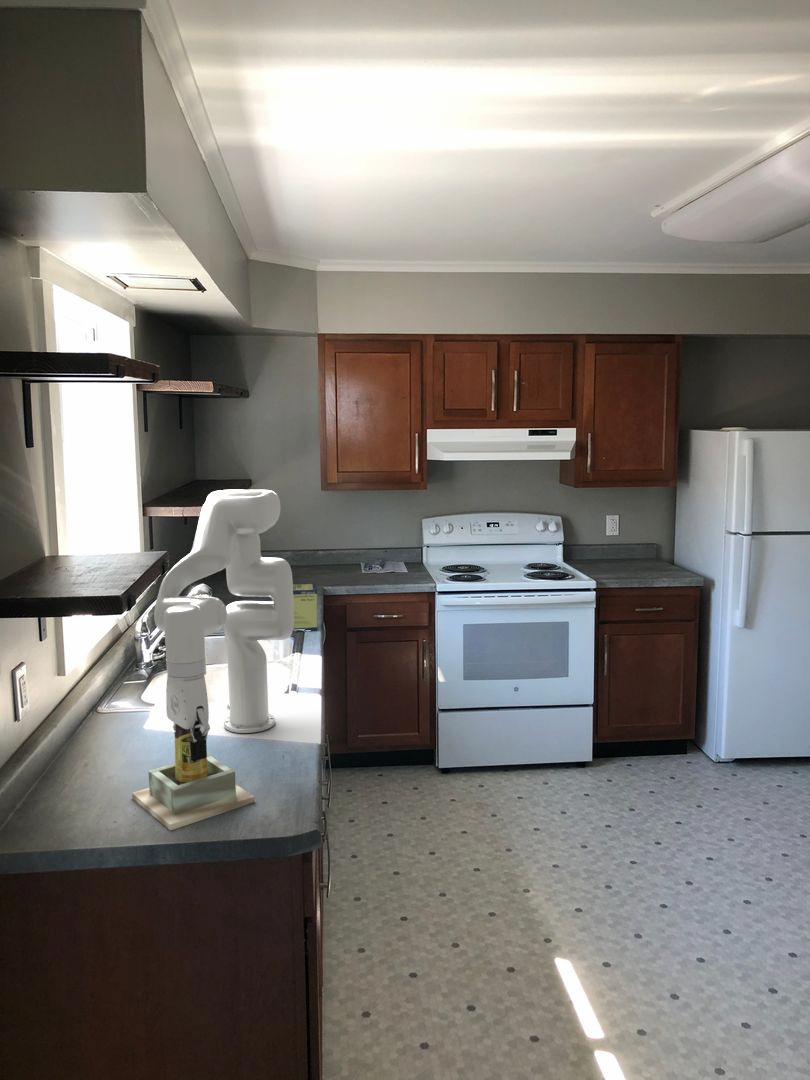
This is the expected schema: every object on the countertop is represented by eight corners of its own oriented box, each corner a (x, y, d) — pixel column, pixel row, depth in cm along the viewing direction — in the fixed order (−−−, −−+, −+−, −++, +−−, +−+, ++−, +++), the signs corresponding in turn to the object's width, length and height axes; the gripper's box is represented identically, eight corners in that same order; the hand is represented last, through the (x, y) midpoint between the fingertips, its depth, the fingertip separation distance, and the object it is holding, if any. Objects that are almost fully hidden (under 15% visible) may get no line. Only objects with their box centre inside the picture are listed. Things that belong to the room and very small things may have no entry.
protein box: (318, 631, 306) (317, 588, 304) (274, 633, 304) (273, 590, 302) (317, 624, 317) (316, 583, 314) (275, 626, 314) (273, 584, 312)
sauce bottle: (182, 794, 167) (177, 697, 165) (171, 783, 172) (165, 689, 170) (214, 785, 171) (209, 690, 168) (201, 775, 176) (196, 682, 173)
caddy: (132, 798, 173) (130, 769, 172) (212, 774, 185) (211, 746, 184) (170, 830, 160) (168, 799, 159) (254, 802, 171) (253, 772, 170)
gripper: (150, 661, 172) (155, 746, 175) (188, 681, 159) (193, 772, 162) (184, 654, 177) (189, 737, 180) (224, 673, 164) (228, 762, 167)
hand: (191, 753), depth 171 cm, fingers closed on sauce bottle, 6 cm apart
